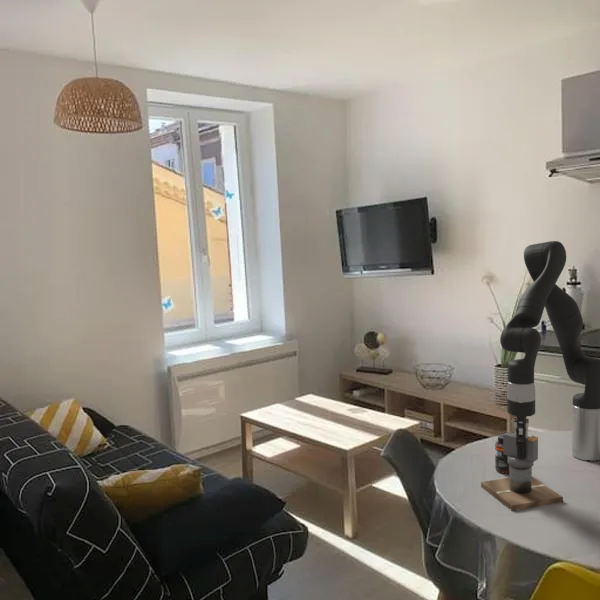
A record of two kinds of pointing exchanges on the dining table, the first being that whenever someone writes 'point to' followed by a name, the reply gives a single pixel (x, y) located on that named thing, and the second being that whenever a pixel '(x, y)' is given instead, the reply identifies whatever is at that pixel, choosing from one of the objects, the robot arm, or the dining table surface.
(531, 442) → the wing cap
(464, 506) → the dining table surface
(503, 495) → the base
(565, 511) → the dining table surface
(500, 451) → the supplement bottle
